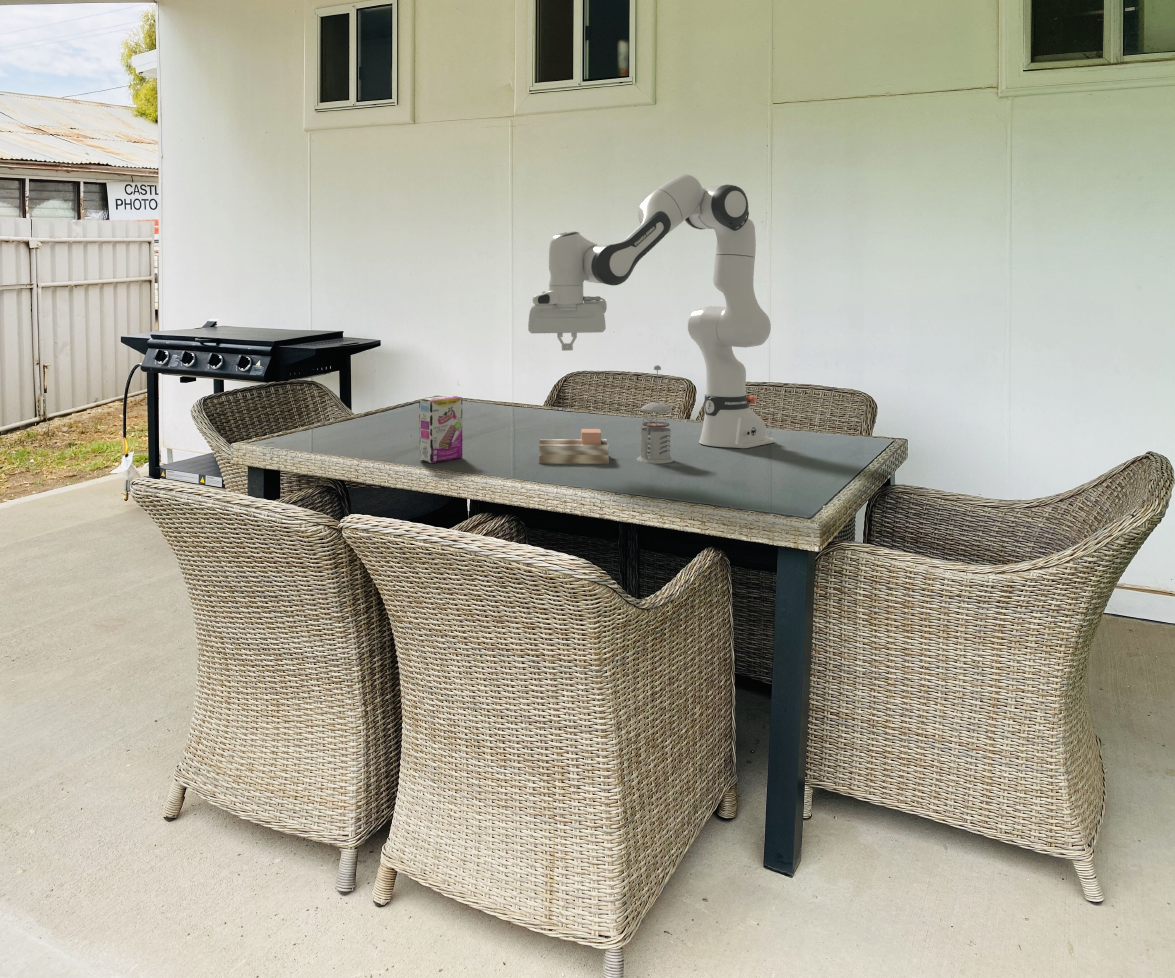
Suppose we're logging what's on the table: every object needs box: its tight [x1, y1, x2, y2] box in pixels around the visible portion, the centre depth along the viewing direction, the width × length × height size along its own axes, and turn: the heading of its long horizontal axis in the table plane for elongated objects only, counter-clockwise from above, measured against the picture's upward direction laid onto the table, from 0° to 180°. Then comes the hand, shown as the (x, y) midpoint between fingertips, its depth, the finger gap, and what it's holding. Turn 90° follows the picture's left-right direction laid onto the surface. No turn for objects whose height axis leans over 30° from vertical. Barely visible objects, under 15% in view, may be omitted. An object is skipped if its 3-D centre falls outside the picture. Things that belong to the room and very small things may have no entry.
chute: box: [538, 438, 610, 465], centre depth 257 cm, size 18×12×4 cm, turn 92°
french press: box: [636, 364, 674, 464], centre depth 254 cm, size 10×12×25 cm
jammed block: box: [580, 428, 602, 445], centre depth 257 cm, size 5×6×6 cm
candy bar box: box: [418, 395, 463, 464], centre depth 253 cm, size 11×5×16 cm, turn 141°
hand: (567, 350), depth 255 cm, fingers closed
